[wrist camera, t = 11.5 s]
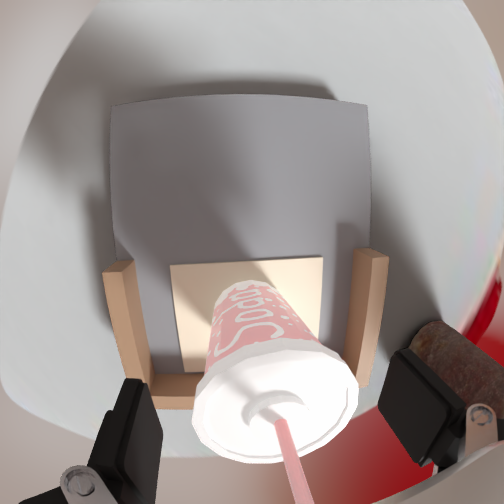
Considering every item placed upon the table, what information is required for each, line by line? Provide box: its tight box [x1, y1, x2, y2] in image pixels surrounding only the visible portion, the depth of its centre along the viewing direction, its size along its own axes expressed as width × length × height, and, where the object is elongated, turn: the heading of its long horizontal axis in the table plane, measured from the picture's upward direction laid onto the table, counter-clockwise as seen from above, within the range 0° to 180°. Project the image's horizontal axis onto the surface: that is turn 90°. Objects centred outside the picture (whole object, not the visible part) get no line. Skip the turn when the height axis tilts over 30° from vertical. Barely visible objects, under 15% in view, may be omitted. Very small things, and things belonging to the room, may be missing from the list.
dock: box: [102, 94, 389, 409], centre depth 17 cm, size 19×16×6 cm
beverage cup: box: [192, 280, 359, 504], centre depth 11 cm, size 6×6×14 cm
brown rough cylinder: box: [408, 321, 504, 419], centre depth 15 cm, size 8×7×20 cm
